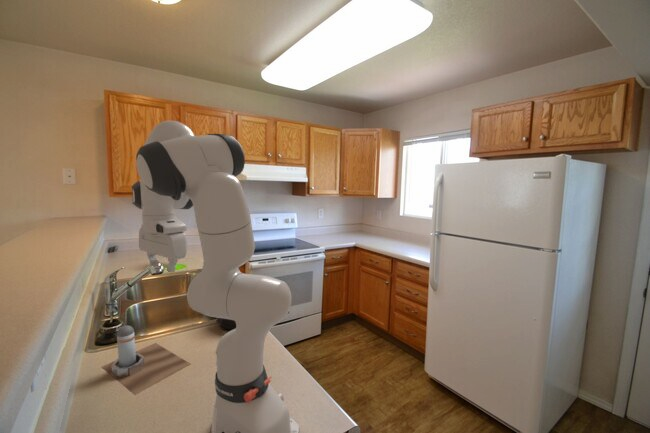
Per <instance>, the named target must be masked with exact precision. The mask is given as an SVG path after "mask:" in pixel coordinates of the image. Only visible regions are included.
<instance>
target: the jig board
mask: <svg viewBox="0 0 650 433" xmlns="http://www.w3.org/2000/svg"><path fill="white" fill-rule="evenodd" d="M135 351H136V354H137V353H139V354H141V355H143V356H144V361H145V364H144V366H143V368H142V369H141V370H140V371H138V372H136V373H134V374H132V375H130V376H125V377H116V376H115V375H113V374H112V364H113V363H114V362H115V361H116V360H114V361H112V362H109V363H107V364H104V365H102V366H101V368H102V369H103V370H104V371H106V373H108V374H109V375H111V376H112V377H113V379H115V380H116V381H117V382H119V383H120V384H121V385H122V386H123V387H125V388H126V389H127V390H128V391H129V392H131V393H132V394H133V395H134V396H135V395H138V394H140V393H141V392H143V391H145V390H147V389H149V388H150V387H152V386H154V385H156V384H158V383H159V382H161V381H164V380H165V379H167V378H169V377H171V376H172V375H174V374H176V373H177V372H180V371H181V370H183V369H185V368H187V367H188V366H191V363H190V362H188V361H187V360H185V359H184V358H182V357H180V356H178V355H176V354H175V353H173V352H172V351H170V350H168V349H166V348H165V347H164V346H161V345H160V344H158V343H157V342H155V343H152V344H150V345H148V346H145V347H143V348H140V349H138V350H135ZM136 363H138V362H136Z"/></svg>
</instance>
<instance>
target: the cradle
mask: <svg viewBox="0 0 650 433" xmlns="http://www.w3.org/2000/svg"><path fill="white" fill-rule="evenodd" d="M114 361H115V362H114V363H113V364H112V374H113V375H115V376H116V377H125V376H130V375H132V374H134V373H136V372H138V371H140V370H141V369H142V368H143V366H144V364H145V361H144V356H143V355H141V354H139V353H137V354H136V362H138V363H136V364H134V365H132V366H130V367H124V368H119V358H117V359H115V360H114Z"/></svg>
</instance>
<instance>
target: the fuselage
mask: <svg viewBox="0 0 650 433" xmlns="http://www.w3.org/2000/svg"><path fill="white" fill-rule="evenodd" d="M135 340H136V336H135V330H134V327H132V325H127V324H126V325H122V326H121V327H120V328H118V330H117V332H116V341H117V353H118V354H117V355H118V359H119V368H124V367H130V366H132V365H134V364H136V351H137V350H136V341H135Z"/></svg>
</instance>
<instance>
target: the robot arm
mask: <svg viewBox="0 0 650 433" xmlns="http://www.w3.org/2000/svg"><path fill="white" fill-rule="evenodd" d="M244 152H245V151H244V150H243V147H242V145H241V143H240V142H239V141H238V139H236V138H235V137H234V136H232V135H230V134H224V133H207V135H206V134H204V135H202V134H201V135H195V134H194V132H193V130H192V129H191V128H190V127H189V126H187V125H186V124H184V123H182V122H180V121H177V120H164V121H161V122H159V123H158V124H156V125H155V126H154V127H153V129H152V130H150V132H149V134H148V136H147V138H146V139H145V143H144V144H143V145H142V146H140V147H139V148H138V150H137V153H136V155H135V156H136V160H135V161H136V165H135V166H136V170H137V174H138V176H139V178H140V180H137V181H136V182H134V184H133V185H132V186H131V192H132V204H133V205H134V206H135V207H136V208H138V209H140V210H142V213H141V220H142V221H141V222H142V224H141V227H140V228H139V229H138V248H139V250H140V251H143V252H145V253H146V255H147V259H148V261H149V266H150V267H152V268H155V267H158V266H159V260H158V259H157V256H158V257H159V256H160V257H163V258H166V259H167V262H168V265H166V266H167V271H168V272H167V273H176V272H175V266H176V264H178V263H177V262H178V260H180V259H184V258H185V257H186V256H187V250H188V249H187V245H188V244H186V242H187V236H186V233H185V232H186V231H187V224H185V223H184V222H183V221H182V220H180V219H179V218H178V217H177V210H189V209H191V208H192V207H193V211H194V216H195V224H196V227H197V231H198V235H199V240H200V246H201V250H202V257H203V264H202V269H201V270H200V272H199V273H198V274H197V275H196V276H195V277H194V278H193V279H192V280H191V282H190V283H189V286H188V287H187V292H186V297H187V298H186V299H187V303H188V306H189V308H191V310H192V311H194V312H198V313H199V314H201V315H204V316H207V317H211V318H217V319H218V318H223V319H230V320H234V321H235V322H236V329H233V330H231V331H227V332H226V333H225V334H224V335H223V336H221V337H220V339H219V341H218V343H217V345H216V350H215V351H216V372H215V374H214V375H215V376H214V377H215V379H214V386H215V388H214V389H215V393H216V398H215V401H214V406H213V411H212V422H211V423H212V424H211V428H210V429H211V433H301V432H300V429H301V428H300V424H299V423H297V422H296V421H295V419H293V418H292V417H291V416H290V412H289V409H288V406H287V404H286V403H285V402H284V400H285V399H284V395H283V394H282V393H281V392H279V393H277V392H276V390H275V389H274V388H273V387H272V385H271V384H270V383H271V382H272V376H269V377H268V374H267V369H266V368H265V364H264V348H265V340H266V337H267V335H268V333H269V332H270V330H271V329H272V328H273V327H274V326H275V325H277V324H278V323H280V322H281V321H283V319H284V318H286V316H287V314H288V313H289V312H290V309H291V305H292V292H291V289H290V287H289V285H288V284H287V283H286V281H283V280H281V279H279V278H276V277H272V276H269V275H264V274H263V275H262V274H261V275H260V274H253V273H252V274H251V273H250V274H249V273H243V272H241V271H240V267H241V266H243V265H245V264H246V263H247V262H249V261H250V260H251V258H252V257H253V255H254V253H255V249H256V243H255V237H254V231H253V226H252V218H251V214H250V209H249V208H250V207H249V205H248V201H247V198H246V195H245V192H244V189H243V187H242V184H241V182H240V180H239V178H237V176H240V175H241V174H242V172H244V171H243V170H244V169H245V164H246V157H245V153H244ZM156 255H157V256H156Z"/></svg>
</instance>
